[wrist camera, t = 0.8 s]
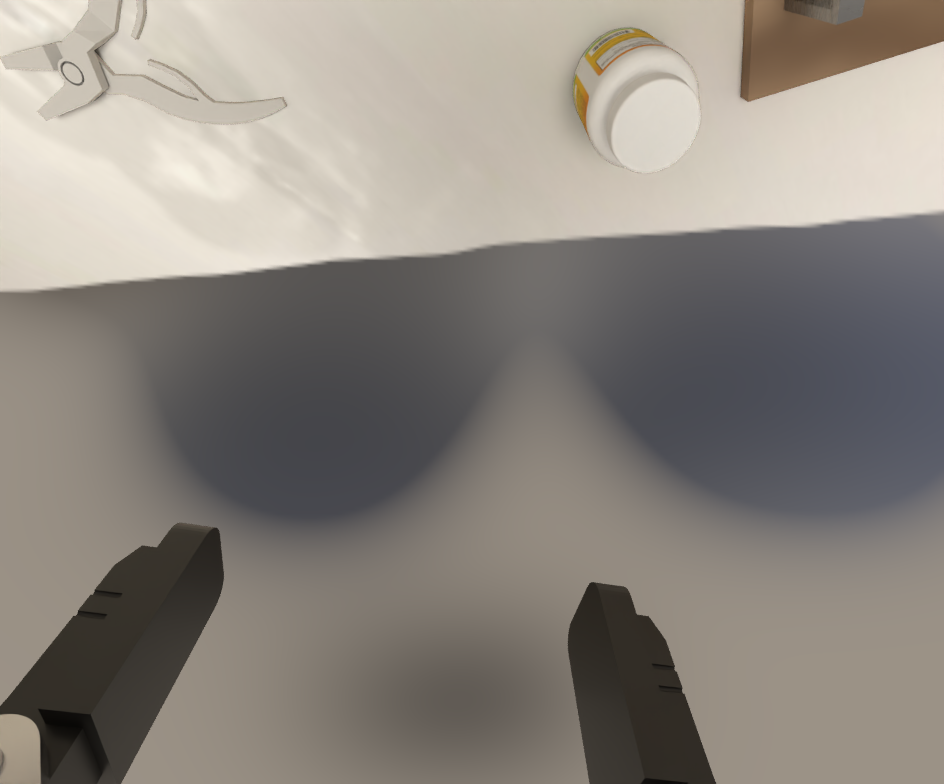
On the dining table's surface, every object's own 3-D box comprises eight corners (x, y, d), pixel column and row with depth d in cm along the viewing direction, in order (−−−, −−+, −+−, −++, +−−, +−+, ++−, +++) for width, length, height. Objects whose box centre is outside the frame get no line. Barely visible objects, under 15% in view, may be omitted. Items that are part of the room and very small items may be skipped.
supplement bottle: (628, 144, 32) (666, 206, 25) (555, 108, 30) (573, 162, 23) (683, 52, 28) (746, 93, 21) (603, 7, 27) (641, 34, 20)
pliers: (282, 114, 30) (83, 172, 33) (290, 107, 31) (97, 164, 34) (180, -108, 24) (-57, -12, 26) (195, -106, 25) (-34, -14, 28)
